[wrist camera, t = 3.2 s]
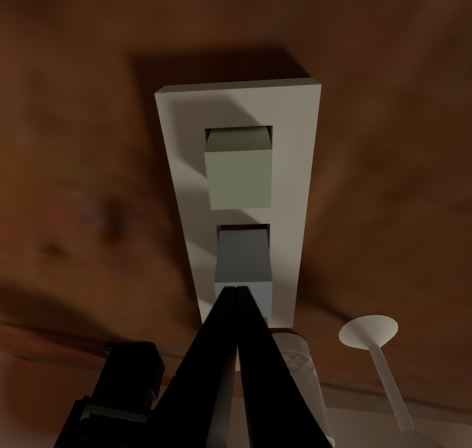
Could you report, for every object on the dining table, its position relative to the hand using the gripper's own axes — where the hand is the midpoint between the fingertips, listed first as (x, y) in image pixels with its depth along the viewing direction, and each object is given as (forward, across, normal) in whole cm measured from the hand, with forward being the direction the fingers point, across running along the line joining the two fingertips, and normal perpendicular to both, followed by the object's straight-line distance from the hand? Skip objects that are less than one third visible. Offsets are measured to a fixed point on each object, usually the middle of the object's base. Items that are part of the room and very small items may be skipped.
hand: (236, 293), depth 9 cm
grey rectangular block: (+10, 0, +6) cm, 11 cm away
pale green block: (+12, 0, -1) cm, 12 cm away
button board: (+12, 0, +6) cm, 14 cm away
